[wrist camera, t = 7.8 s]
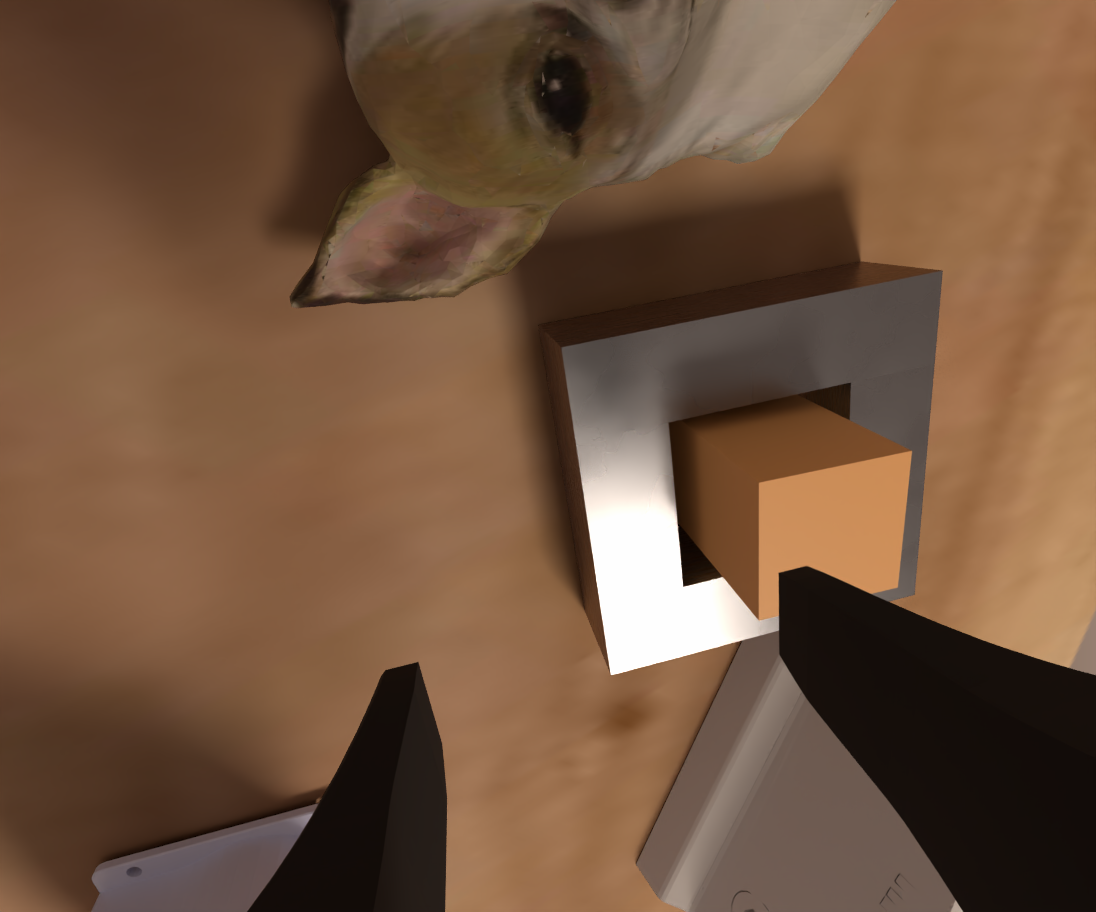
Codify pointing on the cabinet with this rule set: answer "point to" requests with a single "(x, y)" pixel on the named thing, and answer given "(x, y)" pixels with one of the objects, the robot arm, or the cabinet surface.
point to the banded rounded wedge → (781, 812)
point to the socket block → (711, 386)
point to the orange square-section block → (790, 496)
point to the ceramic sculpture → (549, 118)
